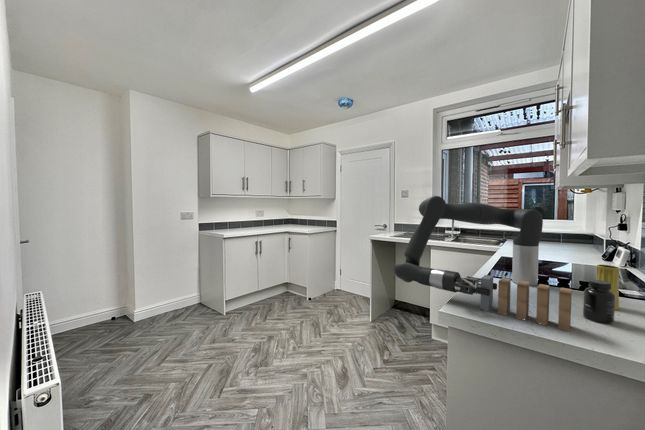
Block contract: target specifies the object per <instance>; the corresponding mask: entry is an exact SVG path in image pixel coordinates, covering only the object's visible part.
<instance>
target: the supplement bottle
mask: <svg viewBox="0 0 645 430" xmlns="http://www.w3.org/2000/svg"><path fill="white" fill-rule="evenodd" d="M611 289H612V288H611V283H609V282H606V281H602V280H596V279H589V281H588V287H586V288H585V289H584V291H583V303H582V304H583V305H582V306H583V307H582V315H583V317H584V318H586V319H587V320H589V321H591V322H595V323H597V324H598V323H599V324H605V325H610V324H611V325H612V324H613V323H615V312H616V310H615V294H614V293H613V292H611V291H610V290H611Z"/></svg>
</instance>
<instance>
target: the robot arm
mask: <svg viewBox="0 0 645 430" xmlns="http://www.w3.org/2000/svg"><path fill="white" fill-rule="evenodd" d="M418 211H419V214H420V215H421V216H422V219H421V221H420V223H419V225H418V226H417V228H416V230H414V233H413V234H412V235H411V237H410V239H409V241H408V243H407V246H406V248H405V251H404V254H403V255H404V257H405V262H403V261H402V262H398V263H397V264H396V265H394V267H393V273H394V275H395V276H396V277H397V278H398V279H400V280H402V281H403V282H405V283H412V282H416V283H418V284H421V285H424V286H427V287H428V286H429V287H432V288H435V289H437V290H442V291H447V292H451V293H462V294H466V295H471V296H473V295H481V294H482V295H486V296H490V289H487V288H482V287H481V278H482V277H481V278H480V277H475V276H469V275H468V276H466V277H461V274H460V272H458V271H451V270H447V269H442V268H431V267H425V266H420V262H421V258H422V256H423V254H424V252H425V249H426V246H427V244H428V242H429V239H430V238H431V235H432V233H433V232H434V230H435V228H436V226H437V224H438V223H439V221H440V220H450V221H451V220H452V221H457V222H461V223H462V222H463V223H470V224H477V225H484V226H485V225H486V226H487V225H501V226H507V227H511V228H515V229H518V230H519V235H517V236H515V237H513V239H512V270H511V281H512V283H514V284H516V285H517V284H518V283H519V282H520V281H525V282H529V287H530V286H532V287H533V286H538V283H539V282H538V280H539V255H540V253H539V251H540V250H539V248H540V247H539V245H540V242H541V240H542V236H543V235H542V234H543V226H544V225H543V224H544V223H543V222H544V220H543V216H542V213H541V212H540V210H539V211H538V210H537V209H529V208H528V209H527V208H517V209H516V208H515V209H514V208H500V207H497V206H494V205H491V204H486V203H479V202H459V203H447V202H446V201H445V199H444V198H443V197H441V196H440V195H432V196H430V197H427V198H425V199H424V200H423V201H421V202H420V204H419V206H418ZM496 290H498V283H496V282H493V291H496Z"/></svg>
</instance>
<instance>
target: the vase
mask: <svg viewBox="0 0 645 430" xmlns="http://www.w3.org/2000/svg"><path fill="white" fill-rule="evenodd" d="M595 280H602V281H606V282H609V283H611V288H612V289H611V290H610V291H611V292H613V293H614V294H615V311H617V310H619V309H620V304H619V303H620V297H619V296H620V295H619V293H620V292H619V291H620V290H619V288H620V285H619V283H620V282H619V280H620V267H619V266H615V265H610V264H597V265H596V278H595Z"/></svg>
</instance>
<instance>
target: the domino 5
mask: <svg viewBox="0 0 645 430" xmlns="http://www.w3.org/2000/svg"><path fill="white" fill-rule="evenodd" d="M572 291H573V290H572V288H568V287H567V288H566V287H560V289H559V293H558V295H559V296H558V318H557V319H558V320H557V323H558V326H557V329H558V328H560V329H559V330H561V329H564V330H563V331H565V330H570V331H571V325H572V321H571V319H572V318H571V317H572V297H573V296H572V293H573V292H572Z"/></svg>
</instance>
